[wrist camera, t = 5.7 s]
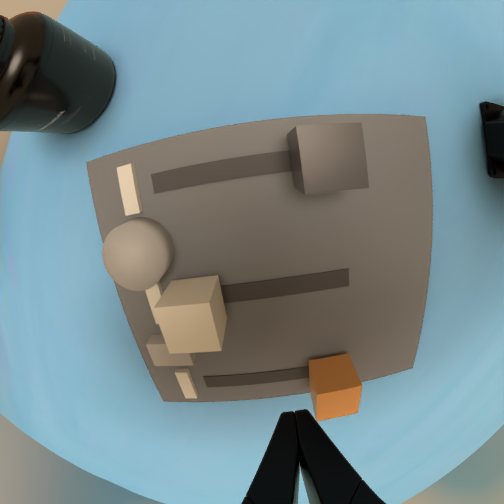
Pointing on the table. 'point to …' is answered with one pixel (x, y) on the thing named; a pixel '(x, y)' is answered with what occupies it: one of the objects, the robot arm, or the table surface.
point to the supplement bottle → (50, 76)
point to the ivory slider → (192, 315)
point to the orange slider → (334, 387)
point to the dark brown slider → (328, 157)
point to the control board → (271, 253)
